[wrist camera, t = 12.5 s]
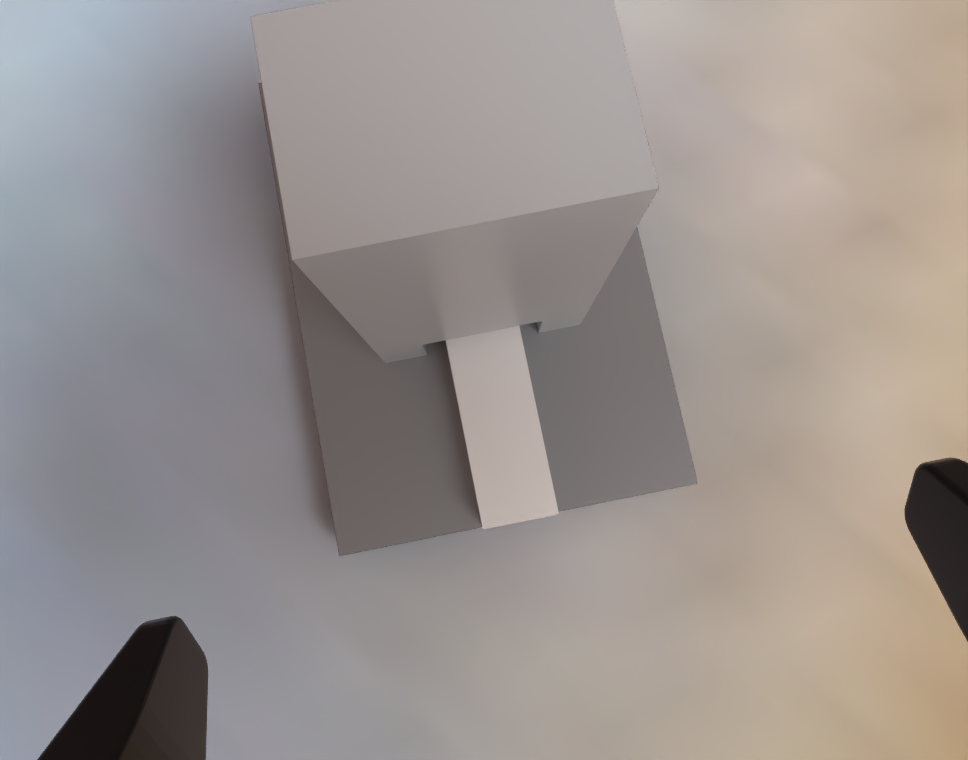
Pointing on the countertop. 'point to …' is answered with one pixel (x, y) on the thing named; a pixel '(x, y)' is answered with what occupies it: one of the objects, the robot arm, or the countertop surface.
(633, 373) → the rail board
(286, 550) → the countertop surface
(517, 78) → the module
